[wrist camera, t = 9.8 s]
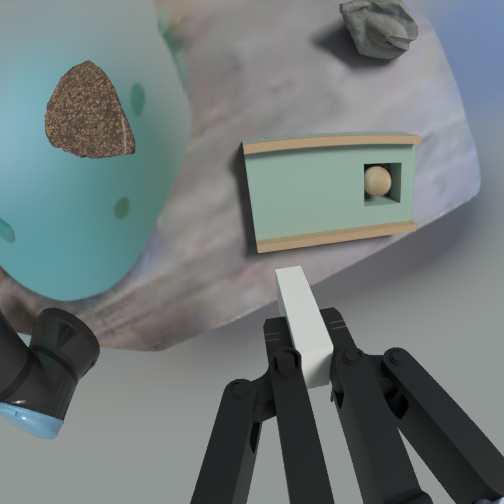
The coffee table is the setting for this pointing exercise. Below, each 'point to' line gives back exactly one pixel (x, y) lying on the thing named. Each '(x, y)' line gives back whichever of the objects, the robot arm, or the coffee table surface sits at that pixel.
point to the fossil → (380, 27)
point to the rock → (88, 115)
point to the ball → (376, 181)
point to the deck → (327, 187)
